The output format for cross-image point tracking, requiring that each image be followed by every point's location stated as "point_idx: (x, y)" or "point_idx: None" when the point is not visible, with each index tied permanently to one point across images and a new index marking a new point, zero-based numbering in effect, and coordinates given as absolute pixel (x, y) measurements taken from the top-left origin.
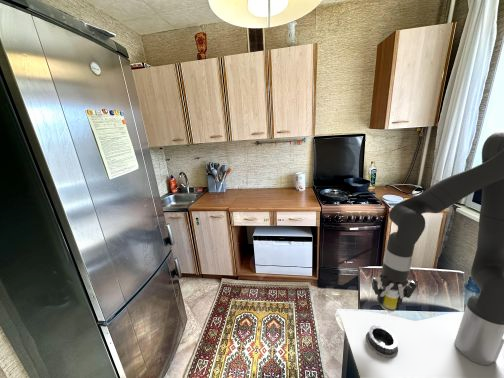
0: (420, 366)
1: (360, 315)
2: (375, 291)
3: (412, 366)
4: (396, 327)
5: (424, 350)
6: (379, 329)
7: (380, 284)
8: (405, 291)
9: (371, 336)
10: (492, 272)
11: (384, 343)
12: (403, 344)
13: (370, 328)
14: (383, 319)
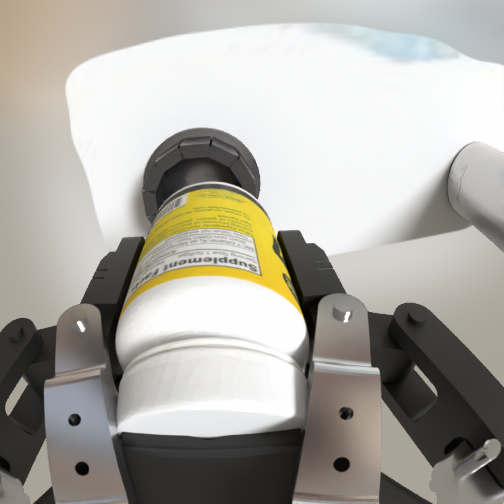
0: None
1: (151, 54)
2: (34, 404)
3: None
4: (304, 95)
5: (353, 187)
6: (200, 155)
7: (49, 390)
8: (410, 359)
9: (149, 209)
10: None
11: None
12: (291, 173)
13: (153, 169)
14: (262, 56)
